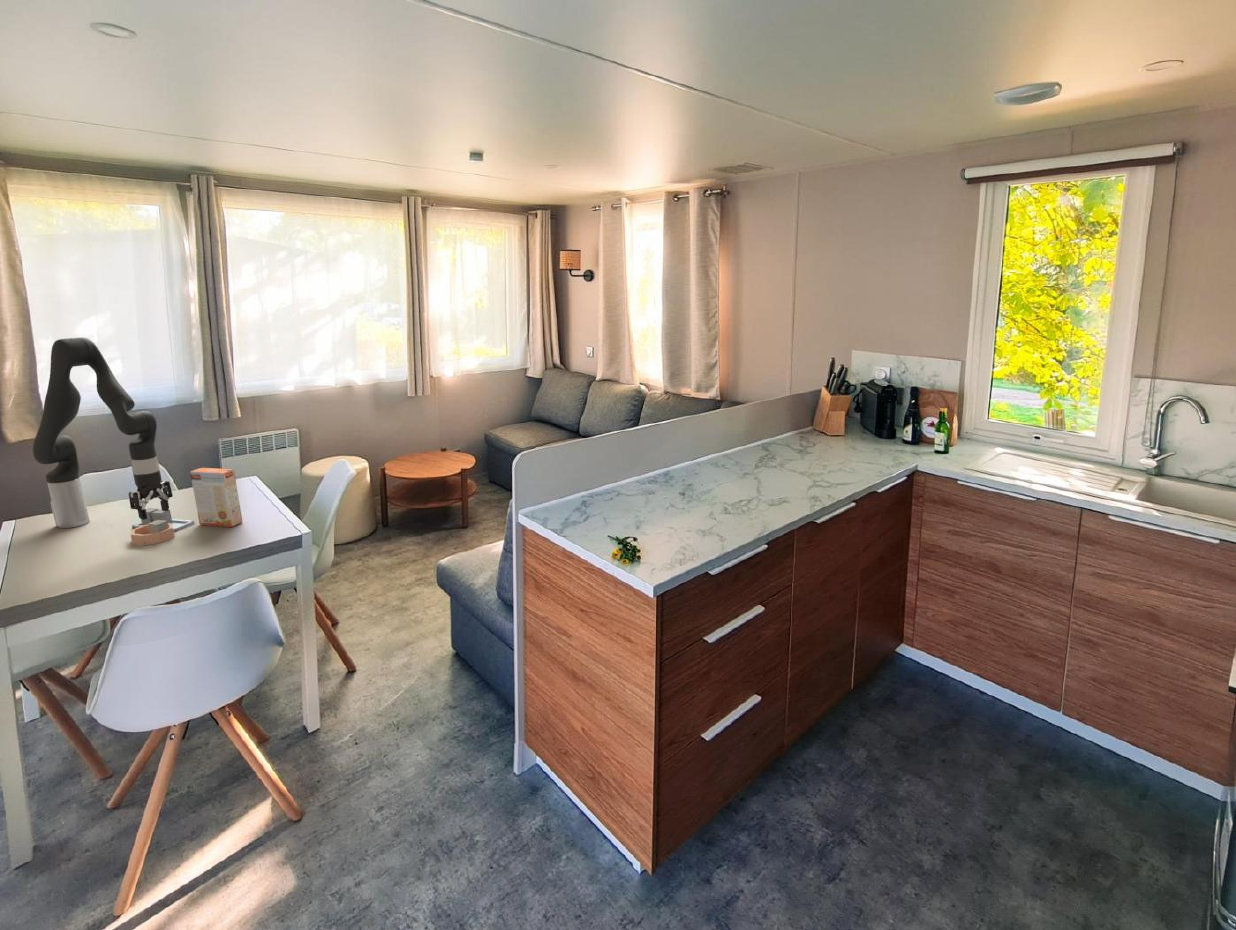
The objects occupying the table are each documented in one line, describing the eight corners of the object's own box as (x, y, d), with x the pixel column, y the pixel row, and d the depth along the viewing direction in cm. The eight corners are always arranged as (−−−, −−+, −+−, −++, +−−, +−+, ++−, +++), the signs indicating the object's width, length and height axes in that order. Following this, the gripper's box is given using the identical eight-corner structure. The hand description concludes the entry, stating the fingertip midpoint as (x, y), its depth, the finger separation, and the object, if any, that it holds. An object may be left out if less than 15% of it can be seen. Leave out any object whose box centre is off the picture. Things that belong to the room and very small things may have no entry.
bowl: (124, 543, 225) (122, 533, 224) (154, 530, 237) (152, 521, 236) (153, 546, 223) (151, 536, 222) (182, 533, 234) (180, 524, 233)
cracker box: (243, 522, 245) (235, 468, 239) (231, 528, 239) (222, 473, 234) (211, 519, 248) (202, 466, 242) (198, 525, 242) (189, 471, 236)
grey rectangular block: (150, 538, 228) (147, 523, 226) (160, 534, 231) (157, 519, 230) (160, 539, 227) (157, 524, 225) (170, 535, 231) (167, 520, 229)
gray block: (142, 525, 241) (139, 511, 239) (151, 521, 244) (149, 507, 243) (151, 526, 240) (148, 512, 238) (160, 522, 244) (158, 508, 242)
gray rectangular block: (154, 526, 240) (151, 512, 238) (163, 522, 243) (160, 508, 242) (163, 527, 239) (160, 513, 237) (172, 523, 243) (169, 509, 241)
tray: (132, 528, 239) (131, 525, 238) (153, 519, 247) (153, 517, 247) (173, 532, 235) (173, 529, 235) (194, 523, 244) (193, 520, 243)
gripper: (155, 463, 230) (163, 507, 234) (117, 475, 216) (127, 521, 221) (173, 465, 228) (181, 509, 233) (136, 477, 215) (145, 523, 219)
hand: (154, 515), depth 227 cm, fingers open, 8 cm apart
